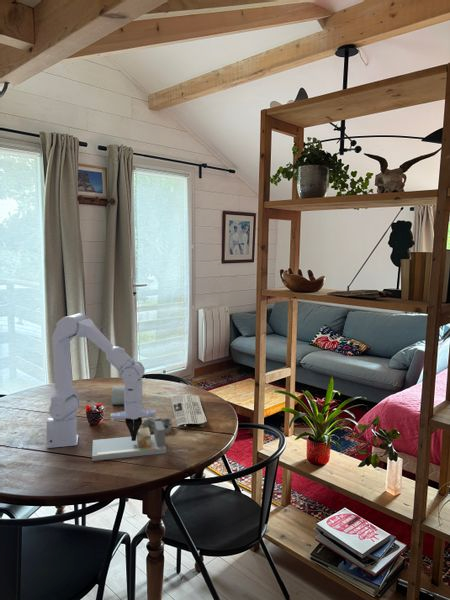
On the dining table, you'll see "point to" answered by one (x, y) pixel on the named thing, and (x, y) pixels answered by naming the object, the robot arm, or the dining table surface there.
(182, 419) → the newspaper
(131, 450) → the gauge bed
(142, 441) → the beige block with peg
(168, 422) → the egg carton
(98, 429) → the dining table surface
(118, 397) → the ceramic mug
